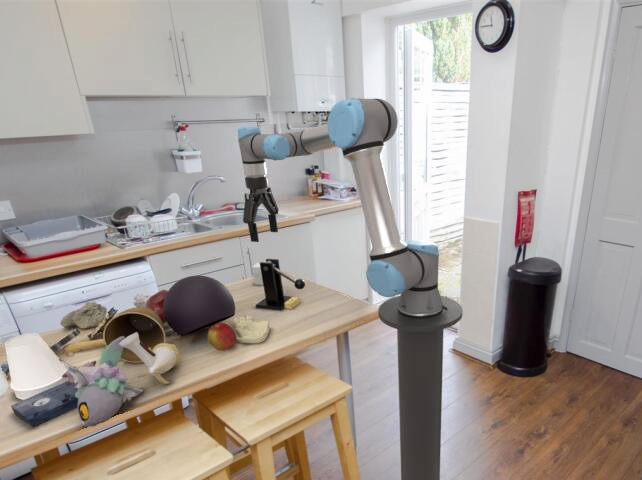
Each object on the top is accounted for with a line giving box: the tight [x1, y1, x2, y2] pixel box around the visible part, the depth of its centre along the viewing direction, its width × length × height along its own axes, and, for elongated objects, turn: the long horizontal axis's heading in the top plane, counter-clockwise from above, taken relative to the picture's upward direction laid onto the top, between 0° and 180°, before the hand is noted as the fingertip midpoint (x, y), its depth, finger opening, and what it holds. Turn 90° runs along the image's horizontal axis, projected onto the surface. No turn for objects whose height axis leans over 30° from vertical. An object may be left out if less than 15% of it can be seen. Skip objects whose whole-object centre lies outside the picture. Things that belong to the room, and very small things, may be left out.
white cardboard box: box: [251, 262, 263, 286], centre depth 181 cm, size 6×6×7 cm
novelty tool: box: [62, 322, 176, 358], centre depth 137 cm, size 8×3×30 cm
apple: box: [207, 322, 237, 351], centre depth 133 cm, size 8×8×8 cm
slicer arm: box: [265, 261, 306, 290], centre depth 156 cm, size 15×4×4 cm, turn 76°
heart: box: [145, 289, 169, 324], centre depth 150 cm, size 12×8×10 cm
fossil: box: [59, 301, 108, 330], centre depth 152 cm, size 14×10×10 cm
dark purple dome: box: [163, 275, 236, 337], centre depth 137 cm, size 20×20×16 cm
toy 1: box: [48, 328, 82, 353], centre depth 130 cm, size 14×2×10 cm
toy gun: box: [119, 332, 181, 385], centre depth 119 cm, size 10×21×15 cm, turn 13°
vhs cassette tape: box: [10, 382, 78, 428], centre depth 110 cm, size 18×3×10 cm
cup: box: [4, 332, 68, 401], centre depth 113 cm, size 12×12×14 cm
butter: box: [284, 296, 301, 310], centre depth 161 cm, size 3×6×2 cm, turn 164°
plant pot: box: [102, 306, 167, 364], centre depth 131 cm, size 15×15×16 cm
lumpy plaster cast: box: [233, 315, 271, 344], centre depth 139 cm, size 11×11×6 cm
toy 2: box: [59, 336, 145, 428], centre depth 105 cm, size 14×16×15 cm
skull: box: [132, 293, 152, 307], centre depth 158 cm, size 7×15×6 cm, turn 85°
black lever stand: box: [255, 258, 293, 311], centre depth 159 cm, size 10×10×16 cm
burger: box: [86, 306, 119, 341], centre depth 141 cm, size 12×12×8 cm
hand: (265, 236), depth 168 cm, fingers open, 13 cm apart
